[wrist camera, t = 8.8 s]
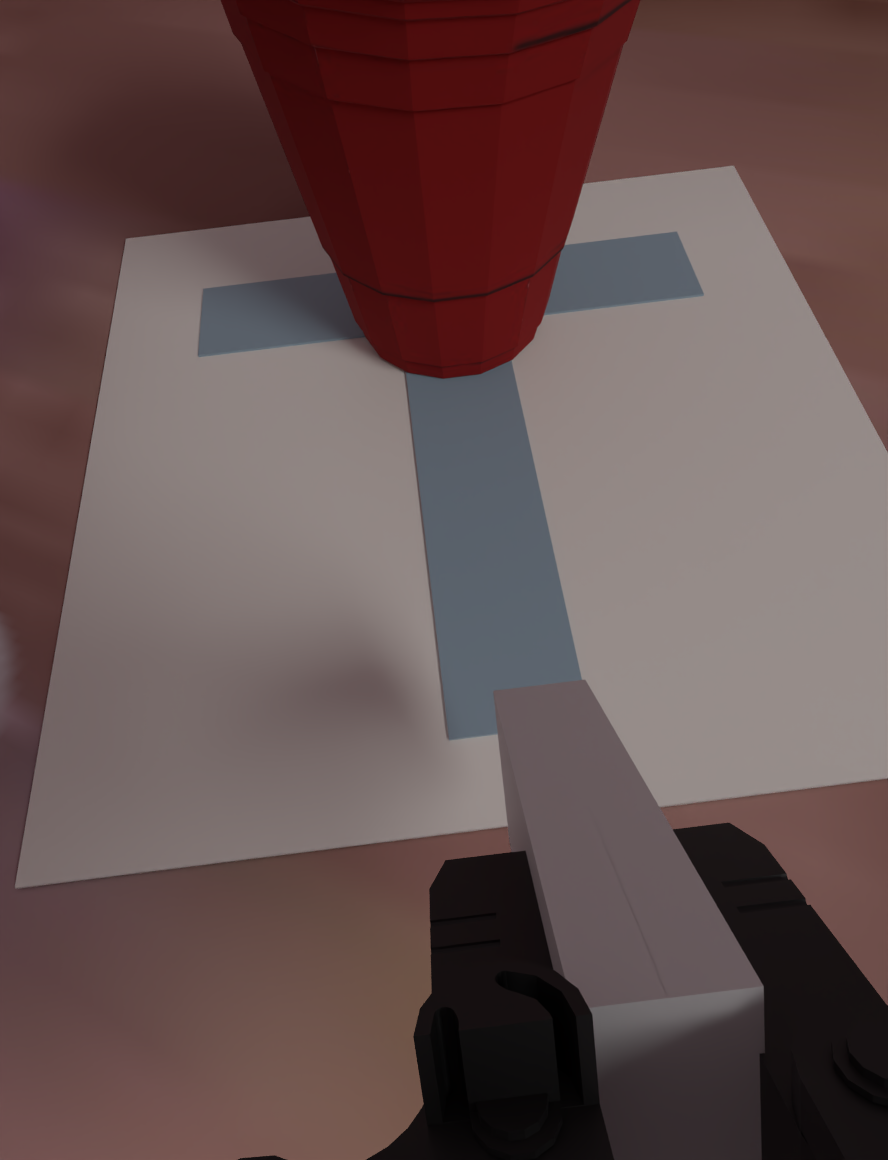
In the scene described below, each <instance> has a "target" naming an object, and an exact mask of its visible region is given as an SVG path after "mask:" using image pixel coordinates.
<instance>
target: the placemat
mask: <svg viewBox="0 0 888 1160" xmlns="http://www.w3.org/2000/svg"><path fill="white" fill-rule="evenodd" d="M578 680H586V682H587V683H588V685H589V687H590V688H591V690H592V692H593V694H594V695H595V697H596V699H597V700H598V702H599V704H600V706H601V707H602V709H603V711H604V713H605V714H606V716H607V718H608V719H609V721H610V723H611V725H612V726H613V728H614V730H615V731H616V733H617V735H618V737H619V738H620V740H621V742H622V743H623V745H624V747H625V749H626V750H627V752H628V754H629V756H630V757H631V759H632V761H633V762H634V764H635V766H636V768H637V769H638V771H639V773H640V774H641V776H642V778H643V780H644V781H645V783H646V785H647V787H648V788H649V790H650V792H651V793H652V795H653V797H654V799H655V800H656V802H657V804H658V805H659V807H667V806H675V805H682V804H690V803H698V802H706V801H714V800H722V799H730V798H738V797H746V796H754V795H762V794H769V793H777V792H785V791H793V790H801V789H809V788H817V787H825V786H833V785H841V784H849V783H857V782H864V781H872V780H880V779H888V453H887V451H886V449H885V447H884V445H883V443H882V441H881V440H880V438H879V436H878V434H877V432H876V430H875V428H874V426H873V425H872V423H871V421H870V419H869V417H868V415H867V413H866V412H865V410H864V408H863V406H862V404H861V402H860V400H859V399H858V397H857V395H856V393H855V391H854V389H853V387H852V385H851V384H850V382H849V380H848V378H847V376H846V374H845V372H844V371H843V369H842V367H841V365H840V363H839V361H838V359H837V357H836V356H835V354H834V352H833V350H832V348H831V346H830V344H829V343H828V341H827V339H826V337H825V335H824V333H823V331H822V329H821V328H820V326H819V324H818V322H817V320H816V318H815V316H814V315H813V313H812V311H811V309H810V307H809V305H808V303H807V302H806V300H805V298H804V296H803V294H802V292H801V290H800V288H799V287H798V285H797V283H796V281H795V279H794V277H793V275H792V274H791V272H790V270H789V268H788V266H787V264H786V262H785V260H784V259H783V257H782V255H781V253H780V251H779V249H778V247H777V246H776V244H775V242H774V240H773V238H772V236H771V234H770V233H769V231H768V229H767V227H766V225H765V223H764V221H763V219H762V218H761V216H760V214H759V212H758V210H757V208H756V206H755V205H754V203H753V201H752V199H751V197H750V195H749V193H748V191H747V190H746V188H745V186H744V184H743V182H742V180H741V178H740V177H739V175H738V173H737V171H736V169H735V167H734V166H727V167H719V168H711V169H702V170H694V171H686V172H677V173H669V174H661V175H652V176H644V177H636V178H627V179H619V180H611V181H602V182H594V183H586V184H583V187H582V190H581V194H580V197H579V200H578V204H577V207H576V211H575V214H574V218H573V221H572V224H571V227H570V230H569V233H568V236H567V239H566V242H565V245H564V248H563V249H562V250H561V254H560V258H559V262H558V266H557V270H556V274H555V278H554V282H553V286H552V289H551V293H550V297H549V300H548V303H547V307H546V310H545V313H544V316H543V319H542V322H541V324H540V325H539V326H538V327H537V330H536V333H535V336H534V339H533V340H532V341H531V342H530V343H529V344H528V345H527V346H526V347H525V348H524V349H523V350H522V351H521V352H520V353H519V354H518V355H517V356H516V357H515V358H514V359H513V360H511V361H509V362H507V363H504V364H502V365H500V366H498V367H495V368H493V369H491V370H489V371H486V372H484V373H482V374H478V375H469V376H461V377H453V378H445V379H443V378H437V377H431V376H425V375H419V374H413V373H408V372H406V371H404V370H402V369H400V368H399V367H397V366H395V365H393V364H391V363H389V362H388V361H386V360H384V359H382V358H380V356H379V355H378V353H377V352H376V351H375V349H374V348H373V347H372V345H371V344H370V343H369V341H368V340H367V339H366V337H365V335H364V333H363V331H362V330H361V328H360V327H359V325H358V324H357V323H356V321H355V319H354V317H353V314H352V311H351V309H350V306H349V304H348V301H347V299H346V296H345V294H344V291H343V289H342V286H341V283H340V281H339V278H338V276H337V273H336V271H335V268H334V266H333V263H332V261H331V258H330V257H329V255H328V254H327V253H326V251H325V250H324V249H323V248H322V245H321V243H320V240H319V238H318V235H317V233H316V230H315V227H314V225H313V222H312V220H311V217H303V218H294V219H286V220H278V221H269V222H261V223H253V224H244V225H236V226H228V227H219V228H211V229H203V230H194V231H186V232H178V233H169V234H161V235H153V236H144V237H136V238H128V239H126V241H125V247H124V253H123V259H122V265H121V270H120V276H119V282H118V288H117V294H116V300H115V305H114V311H113V317H112V323H111V329H110V335H109V340H108V346H107V352H106V358H105V364H104V370H103V375H102V381H101V387H100V393H99V399H98V405H97V410H96V416H95V422H94V428H93V434H92V440H91V445H90V451H89V457H88V463H87V469H86V475H85V480H84V486H83V492H82V498H81V504H80V510H79V515H78V521H77V527H76V533H75V539H74V545H73V550H72V556H71V562H70V568H69V574H68V580H67V585H66V591H65V597H64V603H63V609H62V615H61V620H60V626H59V632H58V638H57V644H56V650H55V655H54V661H53V667H52V673H51V679H50V685H49V690H48V696H47V702H46V708H45V714H44V720H43V725H42V731H41V737H40V743H39V749H38V755H37V760H36V766H35V772H34V778H33V784H32V790H31V795H30V801H29V807H28V813H27V819H26V825H25V830H24V836H23V842H22V848H21V854H20V860H19V865H18V871H17V877H16V883H15V888H17V889H18V888H26V887H34V886H41V885H49V884H57V883H65V882H73V881H81V880H89V879H97V878H105V877H113V876H121V875H129V874H136V873H144V872H152V871H160V870H168V869H176V868H184V867H192V866H200V865H208V864H216V863H223V862H231V861H239V860H247V859H255V858H263V857H271V856H279V855H287V854H295V853H303V852H311V851H318V850H326V849H334V848H342V847H350V846H358V845H366V844H374V843H382V842H390V841H398V840H405V839H413V838H421V837H429V836H437V835H445V834H453V833H461V832H469V831H477V830H485V829H493V828H500V827H508V824H507V815H506V805H505V796H504V787H503V778H502V768H501V759H500V750H499V741H498V731H497V722H496V713H495V704H494V694H493V691H495V690H504V689H512V688H520V687H528V686H536V685H545V684H553V683H561V682H569V681H578Z"/></svg>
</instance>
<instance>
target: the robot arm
mask: <svg viewBox="0 0 888 1160" xmlns="http://www.w3.org/2000/svg"><path fill="white" fill-rule="evenodd" d="M493 694H494V704H495V713H496V722H497V731H498V741H499V750H500V759H501V768H502V778H503V787H504V796H505V805H506V815H507V824H508V833H509V841H510V846H511V851H512V852H510V853H502V854H494V855H485V856H477V857H469V858H461V859H453V860H446V861H445V862H444V864H443V866H442V868H441V869H440V871H439V873H438V875H437V877H436V878H435V880H434V882H433V884H432V885H431V887H430V923H431V927H430V934H431V979H432V994H431V995H430V996H429V998H428V999H427V1000H426V1002H425V1003H424V1004H423V1006H422V1007H421V1008H420V1011H419V1016H418V1020H417V1024H416V1028H415V1032H414V1043H415V1049H416V1056H417V1062H418V1069H419V1076H420V1082H421V1089H422V1095H423V1102H424V1105H423V1107H422V1109H421V1110H420V1112H419V1113H418V1114H417V1116H416V1117H415V1119H414V1120H413V1122H412V1123H411V1124H410V1126H409V1127H408V1129H406V1130H405V1131H404V1132H403V1133H402V1134H401V1135H400V1136H399V1137H398V1138H397V1139H396V1140H395V1141H394V1142H392V1143H391V1144H390V1145H389V1146H388V1147H387V1148H385V1149H383V1150H382V1151H380V1152H378V1153H377V1154H375V1155H373V1156H372V1157H370V1158H368V1159H367V1160H888V1006H887V1005H886V1003H885V1002H884V1001H883V999H882V998H881V997H880V995H879V994H878V993H877V992H876V990H875V989H874V988H873V986H872V985H871V984H870V982H869V981H868V980H867V978H866V977H865V976H864V975H863V973H862V972H861V971H860V969H859V968H858V967H857V965H856V964H855V963H854V961H853V960H852V959H851V958H850V956H849V955H848V954H847V952H846V951H845V950H844V948H843V947H842V946H841V944H840V943H839V942H838V941H837V939H836V938H835V937H834V935H833V934H832V933H831V931H830V930H829V929H828V927H827V926H826V925H825V924H824V922H823V921H822V920H821V918H820V917H819V916H818V914H817V913H816V912H815V910H814V909H813V908H812V907H811V905H807V904H806V900H805V897H804V896H803V895H802V893H801V892H800V891H799V890H798V888H797V887H796V886H795V884H794V883H793V882H792V880H788V879H787V875H786V873H785V871H784V870H783V869H782V867H781V866H780V865H779V863H778V862H777V861H776V859H775V858H774V857H773V856H772V854H771V853H770V852H769V850H768V849H767V848H766V846H765V845H764V844H762V843H761V842H759V841H757V840H756V839H754V838H753V837H751V836H750V835H748V834H746V833H745V832H743V831H742V830H740V829H738V828H737V827H735V826H734V825H732V824H730V823H723V824H714V825H706V826H698V827H690V828H682V829H673V830H672V828H671V826H670V824H669V823H668V821H667V819H666V817H665V816H664V814H663V812H662V811H661V809H660V807H659V805H658V804H657V802H656V800H655V799H654V797H653V795H652V793H651V792H650V790H649V788H648V787H647V785H646V783H645V781H644V780H643V778H642V776H641V774H640V773H639V771H638V769H637V768H636V766H635V764H634V762H633V761H632V759H631V757H630V756H629V754H628V752H627V750H626V749H625V747H624V745H623V743H622V742H621V740H620V738H619V737H618V735H617V733H616V731H615V730H614V728H613V726H612V725H611V723H610V721H609V719H608V718H607V716H606V714H605V713H604V711H603V709H602V707H601V706H600V704H599V702H598V700H597V699H596V697H595V695H594V694H593V692H592V690H591V688H590V687H589V685H588V683H587V682H586V680H578V681H569V682H561V683H553V684H545V685H536V686H528V687H520V688H512V689H504V690H495V691H493ZM238 1160H286V1159H283V1158H280V1157H277V1156H263V1157H251V1158H240V1159H238Z"/></svg>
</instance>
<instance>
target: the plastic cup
mask: <svg viewBox="0 0 888 1160" xmlns="http://www.w3.org/2000/svg"><path fill="white" fill-rule="evenodd" d="M221 2H222V5H223V8H224V10H225V13H226V16H227V18H228V21H229V24H230V26H231V29H232V32H233V34H234V35H235V36H236V38H237V39H238V40H239V41H240V42H241V44H242V46H243V49H244V51H245V54H246V56H247V59H248V61H249V64H250V66H251V69H252V71H253V74H254V77H255V79H256V82H257V84H258V87H259V89H260V92H261V94H262V97H263V99H264V102H265V104H266V107H267V109H268V112H269V114H270V117H271V119H272V122H273V124H274V127H275V129H276V132H277V134H278V137H279V139H280V142H281V144H282V147H283V149H284V152H285V155H286V157H287V160H288V162H289V165H290V167H291V170H292V172H293V175H294V177H295V180H296V182H297V185H298V187H299V190H300V192H301V195H302V197H303V200H304V202H305V205H306V207H307V210H308V212H309V215H310V217H311V220H312V222H313V225H314V227H315V230H316V233H317V235H318V238H319V240H320V243H321V245H322V248H323V249H324V250H325V251H326V253H327V254H328V255H329V257H330V258H331V261H332V263H333V266H334V268H335V271H336V273H337V276H338V278H339V281H340V283H341V286H342V289H343V291H344V294H345V296H346V299H347V301H348V304H349V306H350V309H351V311H352V314H353V317H354V319H355V321H356V323H357V324H358V325H359V327H360V328H361V330H362V331H363V333H364V335H365V337H366V339H367V340H368V341H369V343H370V344H371V345H372V347H373V348H374V349H375V351H376V352H377V353H378V355H379V356H380V358H382V359H384V360H386V361H388V362H389V363H391V364H393V365H395V366H397V367H399V368H400V369H402V370H404V371H406V372H408V373H413V374H419V375H425V376H431V377H437V378H443V379H445V378H453V377H461V376H469V375H478V374H482V373H484V372H486V371H489V370H491V369H493V368H495V367H498V366H500V365H502V364H504V363H507V362H509V361H511V360H513V359H514V358H515V357H516V356H517V355H518V354H519V353H520V352H521V351H522V350H523V349H524V348H525V347H526V346H527V345H528V344H529V343H530V342H531V341H532V340H533V339H534V336H535V333H536V330H537V327H538V326H539V325H540V324H541V322H542V319H543V316H544V313H545V310H546V307H547V303H548V300H549V297H550V293H551V289H552V286H553V282H554V278H555V274H556V270H557V266H558V262H559V258H560V254H561V250H562V249H563V248H564V245H565V242H566V239H567V236H568V233H569V230H570V227H571V224H572V221H573V218H574V214H575V211H576V207H577V204H578V200H579V197H580V194H581V190H582V187H583V183H584V180H585V176H586V173H587V169H588V166H589V162H590V159H591V155H592V152H593V148H594V145H595V141H596V138H597V134H598V131H599V128H600V124H601V121H602V117H603V114H604V110H605V107H606V103H607V100H608V96H609V93H610V89H611V86H612V82H613V79H614V75H615V72H616V68H617V65H618V62H619V58H620V55H621V51H622V48H623V44H624V43H625V42H626V41H627V39H628V36H629V33H630V30H631V27H632V24H633V21H634V18H635V15H636V12H637V9H638V6H639V3H640V0H221Z"/></svg>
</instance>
